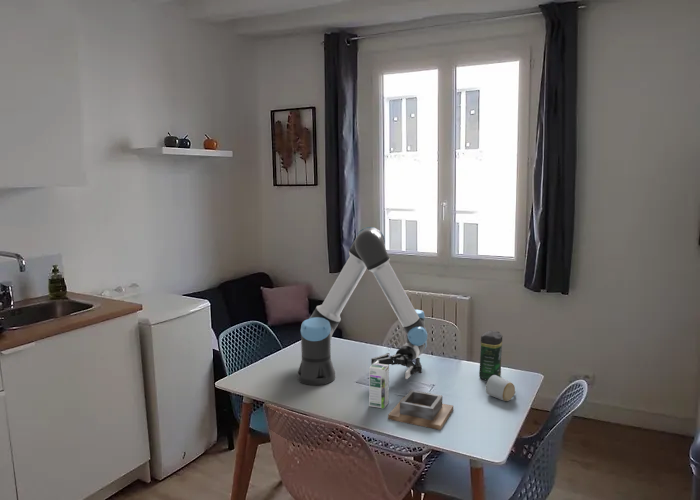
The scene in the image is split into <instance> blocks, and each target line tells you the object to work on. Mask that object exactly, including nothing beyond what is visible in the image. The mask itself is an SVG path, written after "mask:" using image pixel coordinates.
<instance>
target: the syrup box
mask: <svg viewBox="0 0 700 500" xmlns="http://www.w3.org/2000/svg"><path fill="white" fill-rule="evenodd" d="M389 376H390V364H389V365H386V364H379V363H373V364H372V365H370V366H369V368H368V385H369V386H368V388H369V389H368V390H369V391H368V392H369V393H368V395H369V398H368V406H369V408H370V407H373V408H378V409H384V410H385V408H386V406H387V405H388V404H389V402H390V401H389V397H390V396H389V392H390V377H389Z"/></svg>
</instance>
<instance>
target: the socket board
mask: <svg viewBox="0 0 700 500" xmlns="http://www.w3.org/2000/svg"><path fill="white" fill-rule="evenodd" d="M453 411H454V405H452V404H446V403H443V395H441V394H437V393H431V392H425V391H420V390H413V389H410V390H409V392H408V393H406V395H404V396H403V397H402V398H401V400H399V402H398V403H397V404H396V405H395V406H394V407H393V409H392V410H391V411H390V412H389V413H388V416H387V419H388V420H390V419H391V421H396V422H401V423H405V424H411V425H415V426H419V427H420V426H421V427H425V428H428V429H429V428H430V429H434V430H439V431H440V430H442V428H443V427H444V426H445V424H446V422H447V421H448V419H449V418H450V415H452V413H453Z"/></svg>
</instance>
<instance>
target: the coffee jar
mask: <svg viewBox="0 0 700 500" xmlns="http://www.w3.org/2000/svg"><path fill="white" fill-rule="evenodd" d="M502 351H503V334H502V333H501V332H500V331H497V330H488V331H485V332H484V333H482V335H481V336H480V353H479V354H480V356H479V372H478V377H479V378H480V379H482V380H484V381H488V379H489V378H490V377H491V376H492V375H497V376H499V377H502V376H501V375H502Z"/></svg>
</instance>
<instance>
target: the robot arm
mask: <svg viewBox="0 0 700 500" xmlns="http://www.w3.org/2000/svg"><path fill="white" fill-rule="evenodd" d="M348 254H349V257H348V259H347V260H346V262H345V264H344V265H343V267H342V269H341V270H340V273H339V274H338V276H337V278H335V279H336V280H335V281H334V283H333V285H332V286H331V287H330V289H329V292H328V293H327V295H326V297H325V298H324V301H323V302H322V304H320V305H316V307H315V309H314V310H313V312H312V314H311V316H309V318H308V319H305V320H303V321H302V323H301V326H300V340H301V342H300V343H301V344H300V345H301V348H300V349H301V361H300V364H299V367H298V371H297V381H298V382H300V383H301V384H303V385H308V386H321V385H326V384H329V383H332V382H333V381H335V379H336V371H335V367H334V364H333V362H332V356H331V349H332V348H331V345H332V344H331V340H332V337H333V334H334V332H335V331H336V329H337V328H338V325H339V323H340V322H341V320H342V319H341V314H342V311H343V309H344V308H345V307H346V305H347V303H348V301H350V298H351V296H352V294H353V293H354V291H355V289H356V287H357V286H358V284H359V283H360V281H361V279H362V277H363V275H364V274H365V272H366V270H368V271H369V272H371V273H372V274H373V276H374V277H375V280H376V281H377V283H378V285H379V287H380V289H381V290H382V292H383V294H384V296H385V298H386V300H387V301H388V303H389V305H390V306H391V308H392V310H393V312H394V314H395V316H396V317H397V319H398V321H399V322H400V324H401V326H402V328H403V330H404V331H405V334H406V336H405V343H404V344H403V345H401V347H400V348H398V350H397V351H396V353H394V354H392V355H390V352H386V353H385V354H382V355H379V356H375V357H372V358H371V359H370V361H371V362H370V363H371V365H372V364H373V363H379V364H386V365H389V366H390V365H391V366H396V365H397V366H398V365H401V366H403V367H406V368H408V369H406V371H405V373H404V377H405V380H409V378H410V377H411V376H413V375H414V374H417V373H418V374H422V372H423V366H422V363H421V360H420V359H421V357H420V356H421V355H422V354H423V353H424V352H425V350H426V348H427V346H428V345H427V344H428V343H427V341H428V331H427V329H426V325H425V319H426V317H425V312H424V310H422V309H421V310H420V309H415V307H414V306H413V303H412V301H411V300H410V298H409V296H408V295H407V292H406V291H405V289H404V287H403V285H402V283H401V282H400V280H399V278H398V275H397V274H396V272H395V271H394V270H395V269H393V267H392V265H391V264H390V260H391V258H390V256H389V254H388V252H387V249H386V246H385V236H384V234H383V233H382V231H381V230H379V229H378V228H376V227H371V226H369V227H368V226H367V227H363V228H362V229H361V230H359V232H358V233H357V234H356V237H355V240H354V241H353V243H352V244H351V246H350V248H349V250H348ZM371 365H370V366H371Z"/></svg>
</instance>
